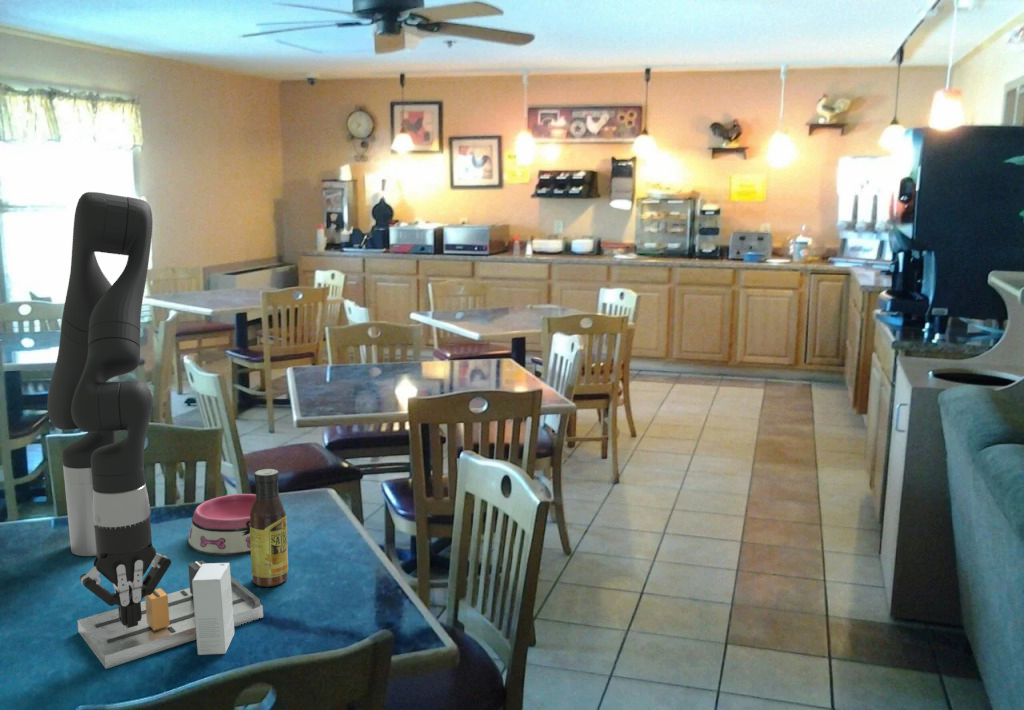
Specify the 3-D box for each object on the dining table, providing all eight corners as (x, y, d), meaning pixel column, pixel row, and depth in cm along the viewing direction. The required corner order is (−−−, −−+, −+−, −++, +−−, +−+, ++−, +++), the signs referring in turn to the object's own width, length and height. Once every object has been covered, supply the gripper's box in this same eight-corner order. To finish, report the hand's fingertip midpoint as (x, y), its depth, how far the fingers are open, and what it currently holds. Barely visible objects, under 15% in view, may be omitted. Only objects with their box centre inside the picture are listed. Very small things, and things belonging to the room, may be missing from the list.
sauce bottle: (278, 590, 151) (273, 479, 147) (245, 586, 152) (239, 477, 148) (295, 574, 157) (290, 467, 154) (263, 571, 158) (257, 465, 155)
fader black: (190, 592, 145) (188, 563, 144) (204, 588, 146) (202, 559, 145) (197, 599, 142) (195, 569, 141) (211, 594, 144) (209, 565, 143)
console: (78, 632, 136) (76, 614, 136) (227, 587, 152) (226, 571, 151) (105, 668, 126) (104, 649, 125) (263, 617, 141) (262, 600, 141)
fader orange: (147, 623, 134) (144, 591, 134) (162, 618, 136) (160, 586, 135) (153, 630, 132) (151, 598, 131) (169, 625, 134) (167, 593, 133)
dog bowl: (254, 514, 187) (253, 483, 186) (304, 538, 174) (302, 505, 173) (171, 538, 174) (168, 505, 172) (217, 566, 161) (215, 530, 160)
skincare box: (206, 635, 135) (201, 562, 133) (235, 634, 136) (230, 561, 134) (196, 656, 129) (191, 580, 127) (225, 654, 130) (221, 579, 128)
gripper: (159, 498, 135) (166, 603, 139) (66, 518, 127) (76, 629, 130) (176, 512, 130) (184, 620, 133) (80, 534, 121) (90, 649, 124)
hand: (130, 624), depth 131 cm, fingers closed
